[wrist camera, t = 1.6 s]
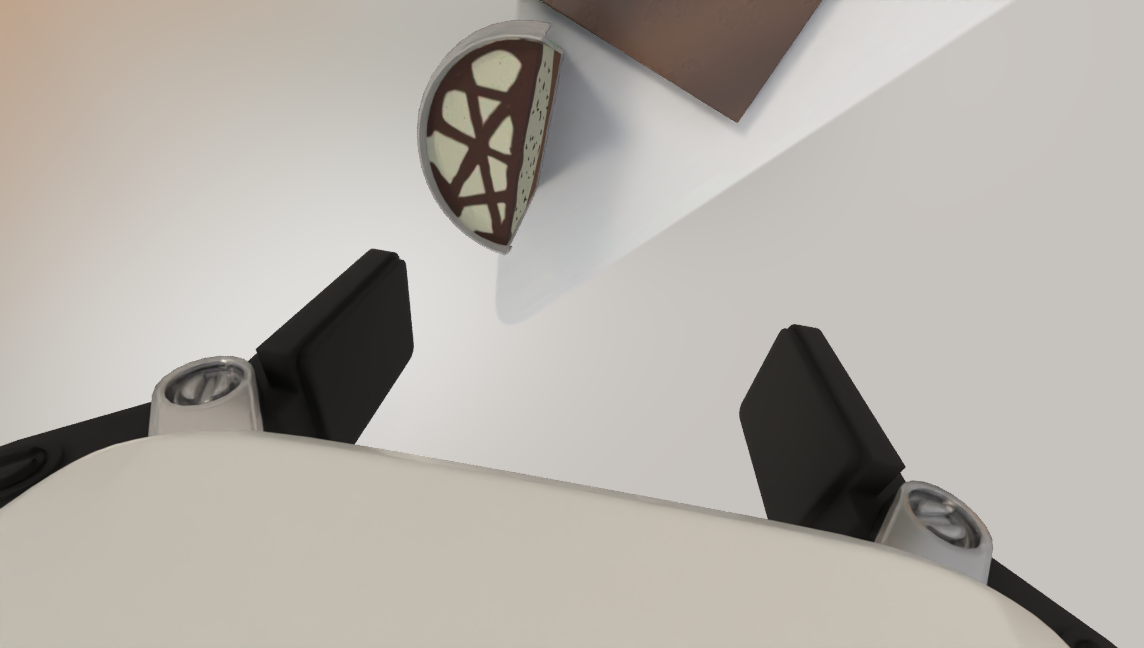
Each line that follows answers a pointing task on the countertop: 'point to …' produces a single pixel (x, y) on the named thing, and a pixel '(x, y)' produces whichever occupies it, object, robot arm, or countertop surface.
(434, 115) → the food container
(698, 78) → the cutting board
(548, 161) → the countertop surface
